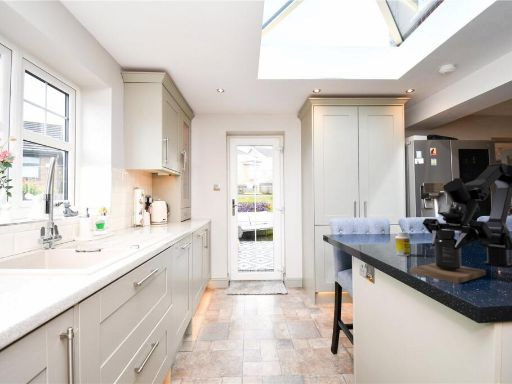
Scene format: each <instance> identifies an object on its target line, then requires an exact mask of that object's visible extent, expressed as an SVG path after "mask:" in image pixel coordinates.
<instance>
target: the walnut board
mask: <svg viewBox="0 0 512 384" xmlns="http://www.w3.org/2000/svg"><path fill="white" fill-rule="evenodd" d="M409 274H413V275H419V276H422V277H426V276H427V278H430V279H431V278H432V279H435V280H440V281H445V282H450V283H453V284H458V285H459V284H461V283H462V284H463V283H465V282H468V281H472V280H474V279H478V278H480V277H484V276H487V271H486V269H480V268H474V267H469V266H464V265H463V266H462V265H460V268H459V269H444V268H439V267H437V266H436V265H435V262H433V263H427V264H424V265H418V266H414V267H409Z"/></svg>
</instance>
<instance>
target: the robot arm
mask: <svg viewBox="0 0 512 384" xmlns="http://www.w3.org/2000/svg"><path fill="white" fill-rule="evenodd" d="M493 184H495V185H496V189H495V190H496V191H495V192H494V193H495V194H494V198H493V202H492V206H491V209H490V213H489V217H488V220H486V221H482V220H474V219H473V216H474V214H475V212H480V211H481V208H480V206H479V202H478V201H485V200H486V199H488V197H489V195H490V193H491V191H490V190H489V189H490V187H492V185H493ZM442 189H443V191H444V192H445V194H446V195H447V197H448V198H449V200H450V201H451V202H452V203H450V204H448V203H447V204H443V203H441V204H439V206H438V210H437V214H438V215H440V216H441V217H442V218H441V219H442V220H443V221H444V222H440V221H439V220H438V219H437V218H429V217H428V218H424V220H423V222H422V225H423V226H424V227H425V229H426V230H427V232H428V233H429V234H431V236H432V238H431V239H432V240H431V245H432V246H433V247H434V240H435V239H436V238H438V236H437V230H453V231H455V232H461V233H460V234H459V235H460V236H459V237H458V239H457V240H458V241H457V242H456V245H455V249H456V250H458V249H460V250H461V249H462V248H464V247H465V246H467V245H468V244H471V243H474V242H476V241H478V243H479V246H480V247H482V248H486V261H484V262H483V263H482V264H484V265H490V266H497V267H502V268H507V267H510V266H512V263H511V262H510V263H509V262H508V261H509V256H508V251H510V250H511V251H512V236H511V235H510V233H511V231H510V230H509V227H508V226H507V225H506V224H507V219H508V215H509V212H510V211H509V210H510V206H511V202H512V165H510V164H507V163H503V162H500V163H490V164H488V165H487V166H486V169H485V170H484V171H483V172H482V173H480V174H479V175H478V176H477V178H476V179H473V180H472V181H469V182H466V183H464V181H463V178H461V177H457V178H456V177H455V178H453V180H450V181H448V182H447V183H445V184H443V187H442ZM453 203H454V204H453Z"/></svg>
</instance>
